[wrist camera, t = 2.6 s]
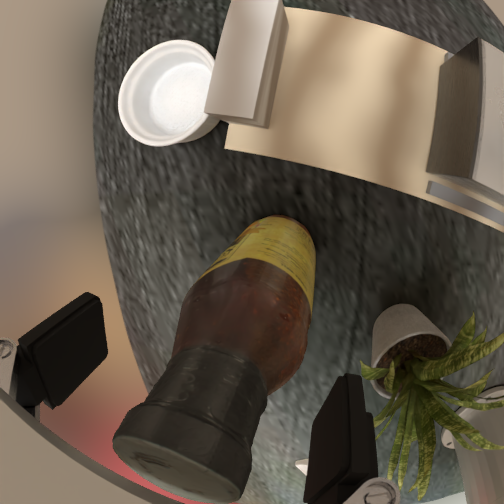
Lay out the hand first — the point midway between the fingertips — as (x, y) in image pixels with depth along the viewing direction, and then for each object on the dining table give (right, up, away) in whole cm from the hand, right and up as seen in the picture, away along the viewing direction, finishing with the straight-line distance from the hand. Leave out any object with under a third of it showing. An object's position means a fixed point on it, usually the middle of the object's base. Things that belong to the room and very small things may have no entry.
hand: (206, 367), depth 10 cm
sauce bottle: (+4, +4, +15) cm, 16 cm away
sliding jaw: (+19, +13, +5) cm, 24 cm away
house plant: (+16, -4, +14) cm, 22 cm away
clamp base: (+13, +15, +9) cm, 22 cm away
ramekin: (-4, +17, +12) cm, 22 cm away
